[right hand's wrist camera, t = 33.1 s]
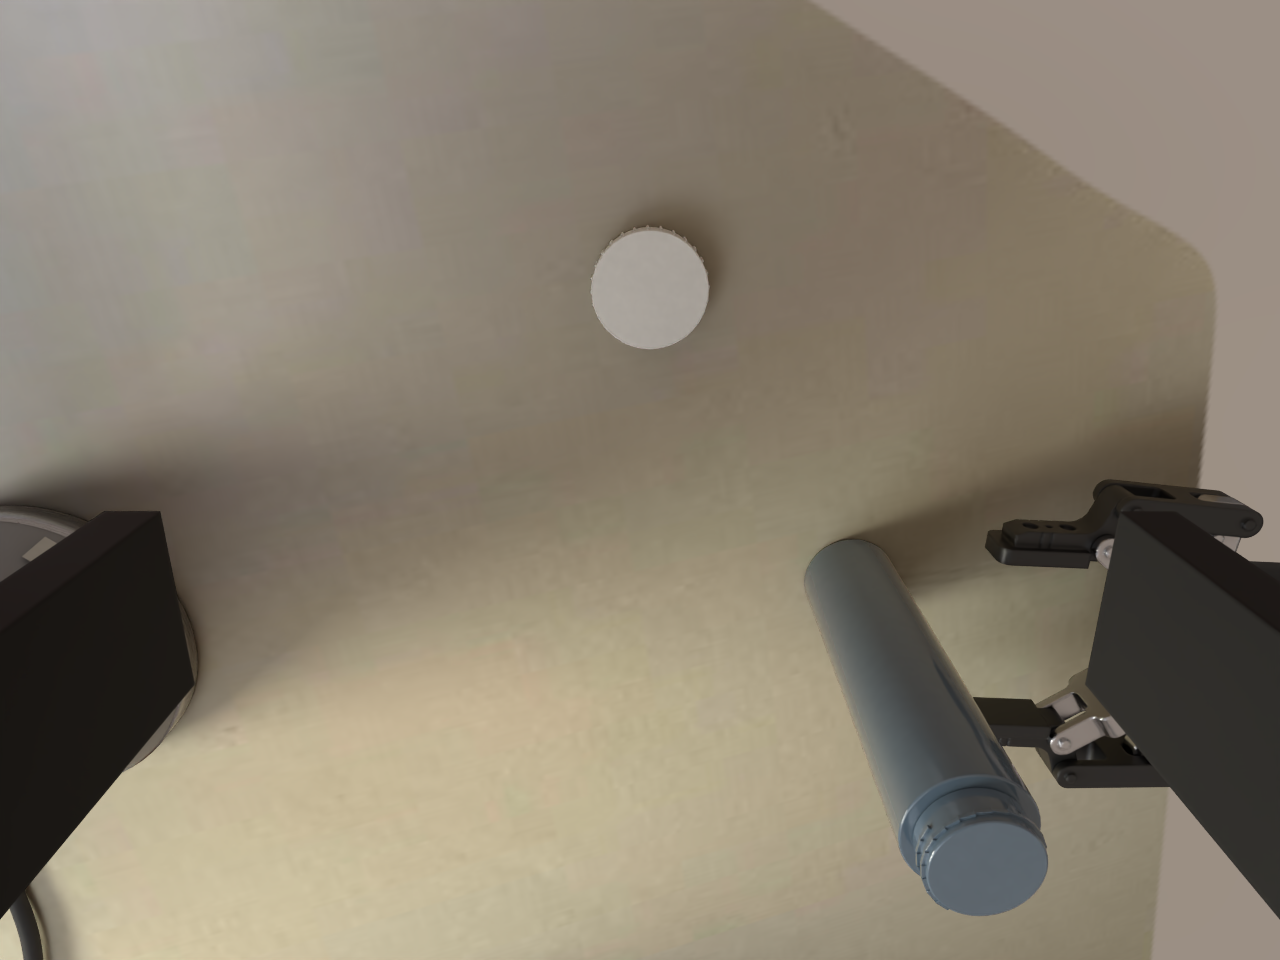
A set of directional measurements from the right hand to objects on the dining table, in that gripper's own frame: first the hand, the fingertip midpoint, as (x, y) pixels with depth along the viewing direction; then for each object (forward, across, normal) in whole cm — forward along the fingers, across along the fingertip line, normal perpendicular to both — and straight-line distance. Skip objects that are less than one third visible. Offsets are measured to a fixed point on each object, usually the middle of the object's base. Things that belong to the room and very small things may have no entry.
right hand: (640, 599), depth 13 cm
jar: (+30, +11, -15) cm, 35 cm away
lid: (+28, 0, 0) cm, 28 cm away
